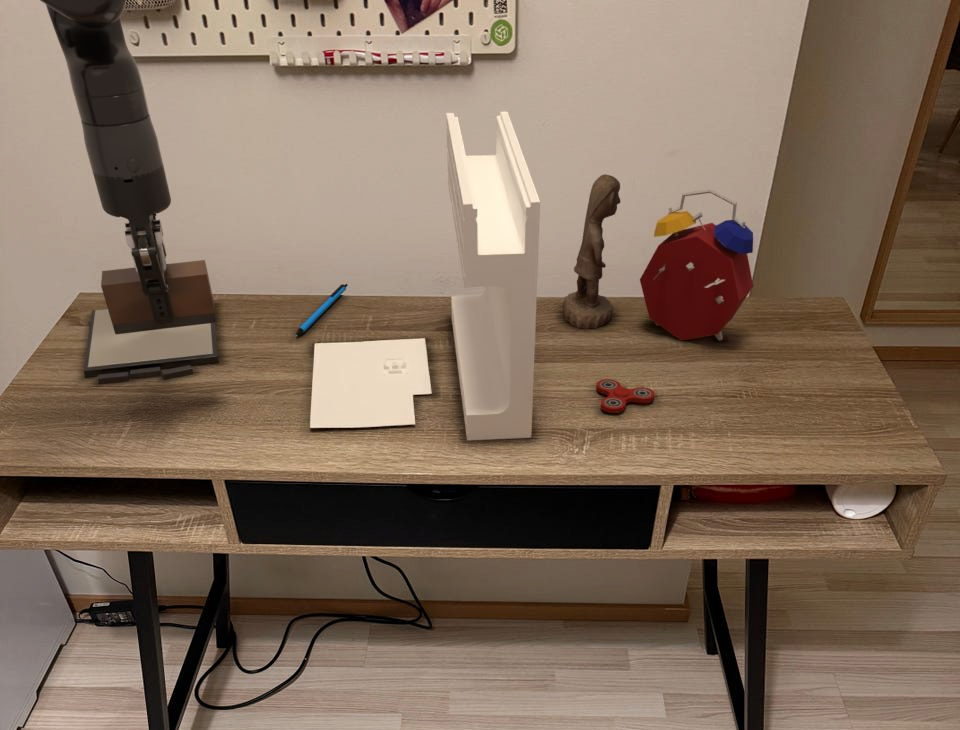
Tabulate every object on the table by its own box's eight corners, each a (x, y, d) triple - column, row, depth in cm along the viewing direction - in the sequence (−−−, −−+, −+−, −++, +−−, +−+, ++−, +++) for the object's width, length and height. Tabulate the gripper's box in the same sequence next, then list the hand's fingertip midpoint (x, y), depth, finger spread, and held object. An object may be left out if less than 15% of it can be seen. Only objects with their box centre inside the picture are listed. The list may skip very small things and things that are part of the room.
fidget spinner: (610, 417, 120) (611, 408, 119) (576, 393, 124) (577, 385, 124) (658, 401, 123) (660, 392, 122) (624, 378, 128) (625, 369, 127)
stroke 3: (161, 370, 128) (162, 376, 129) (162, 374, 127) (164, 379, 128) (190, 364, 129) (191, 370, 130) (192, 368, 128) (193, 373, 129)
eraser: (115, 334, 112) (100, 285, 108) (116, 319, 115) (102, 270, 111) (217, 322, 114) (206, 273, 110) (215, 307, 117) (204, 259, 113)
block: (531, 437, 116) (540, 202, 97) (466, 440, 116) (463, 204, 97) (504, 316, 142) (507, 111, 123) (451, 318, 141) (446, 113, 122)
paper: (306, 345, 135) (305, 337, 134) (424, 336, 137) (424, 329, 136) (310, 434, 117) (309, 426, 116) (445, 423, 119) (445, 415, 118)
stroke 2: (130, 369, 128) (131, 375, 129) (129, 373, 127) (131, 379, 128) (160, 366, 129) (161, 371, 129) (160, 370, 128) (161, 375, 129)
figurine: (622, 323, 140) (637, 181, 127) (578, 332, 138) (588, 189, 124) (593, 300, 146) (605, 162, 133) (550, 308, 144) (557, 169, 130)
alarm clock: (743, 335, 137) (772, 191, 123) (723, 359, 132) (751, 211, 118) (650, 313, 143) (667, 173, 129) (627, 335, 137) (642, 191, 123)
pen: (349, 287, 150) (348, 281, 149) (299, 339, 136) (298, 331, 136) (344, 287, 150) (343, 280, 149) (293, 338, 137) (292, 331, 136)
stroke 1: (98, 374, 127) (99, 380, 128) (97, 378, 126) (99, 384, 127) (128, 371, 128) (129, 376, 128) (127, 375, 127) (129, 381, 128)
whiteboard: (85, 377, 128) (82, 369, 127) (93, 316, 142) (91, 309, 142) (218, 362, 131) (217, 354, 130) (213, 304, 145) (212, 297, 145)
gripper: (93, 146, 106) (133, 293, 118) (88, 187, 96) (132, 343, 108) (161, 141, 108) (193, 287, 119) (163, 180, 98) (198, 335, 109)
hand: (164, 313), depth 114 cm, fingers closed on eraser, 4 cm apart
